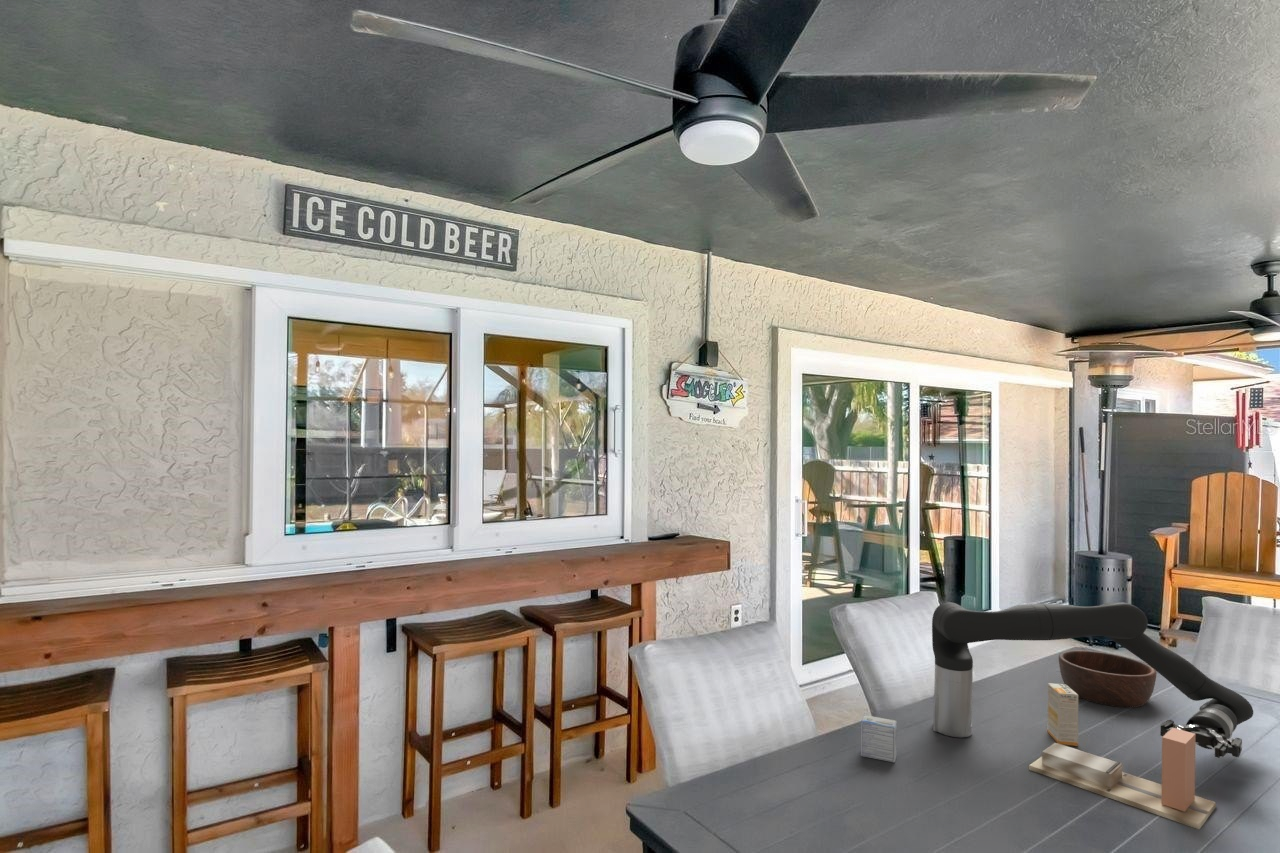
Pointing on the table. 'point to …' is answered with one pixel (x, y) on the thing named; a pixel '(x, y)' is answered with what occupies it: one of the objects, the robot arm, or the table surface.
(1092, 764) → the wooden base board
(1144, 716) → the table surface
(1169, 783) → the salmon orange block
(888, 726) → the medicine box
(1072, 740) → the supplement box
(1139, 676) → the wooden bowl
